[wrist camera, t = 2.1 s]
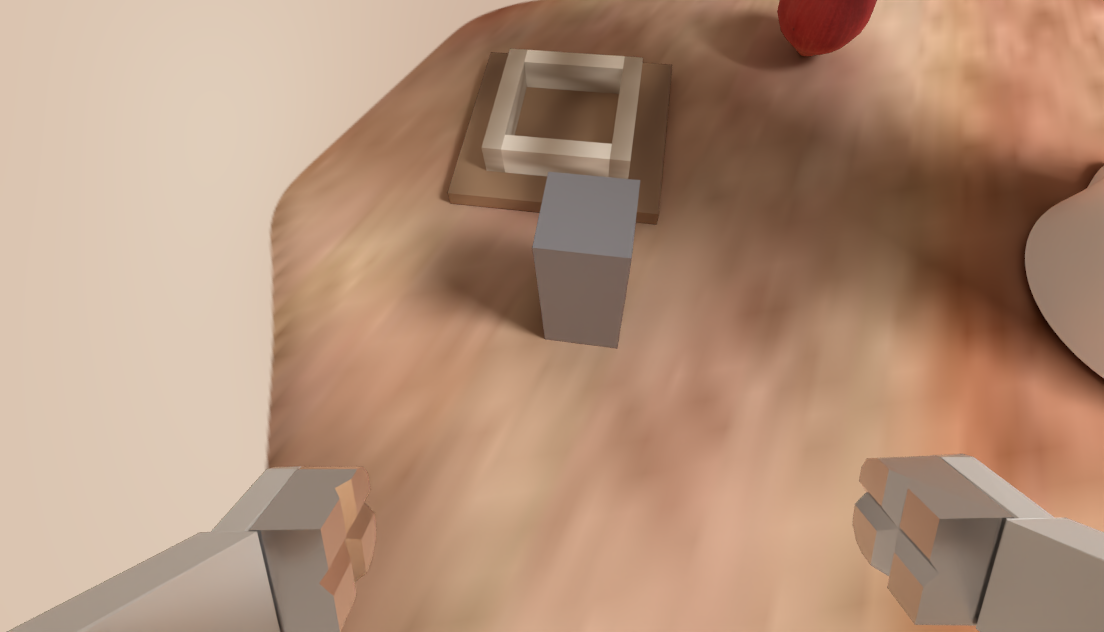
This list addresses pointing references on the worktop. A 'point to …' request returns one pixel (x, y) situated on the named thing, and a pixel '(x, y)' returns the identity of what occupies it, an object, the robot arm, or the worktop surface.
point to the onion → (822, 23)
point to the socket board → (563, 127)
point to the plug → (584, 256)
